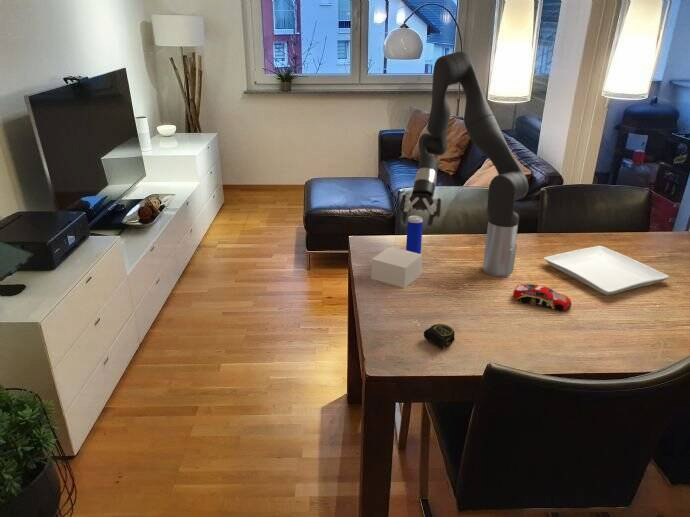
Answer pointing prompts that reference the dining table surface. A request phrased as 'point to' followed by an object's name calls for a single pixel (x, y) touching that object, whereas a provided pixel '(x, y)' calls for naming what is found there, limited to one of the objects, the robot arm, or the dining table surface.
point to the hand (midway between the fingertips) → (416, 224)
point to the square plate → (605, 269)
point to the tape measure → (440, 335)
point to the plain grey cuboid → (396, 267)
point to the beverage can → (414, 234)
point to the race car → (541, 297)
